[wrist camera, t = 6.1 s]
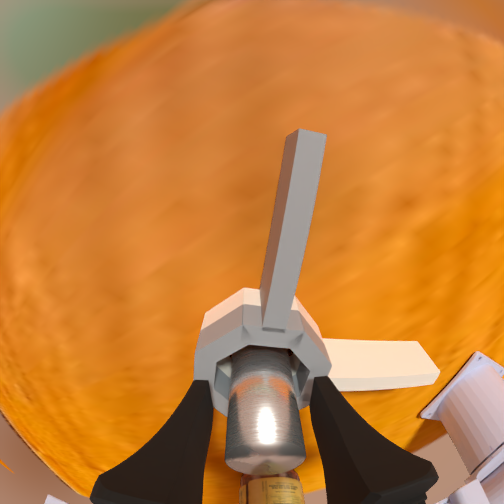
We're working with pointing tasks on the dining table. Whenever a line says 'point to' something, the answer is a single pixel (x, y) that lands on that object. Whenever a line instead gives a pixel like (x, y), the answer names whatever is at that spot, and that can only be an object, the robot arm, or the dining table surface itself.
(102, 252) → the dining table surface
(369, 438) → the robot arm
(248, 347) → the hinge pin
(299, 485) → the sauce bottle
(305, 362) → the hinge
